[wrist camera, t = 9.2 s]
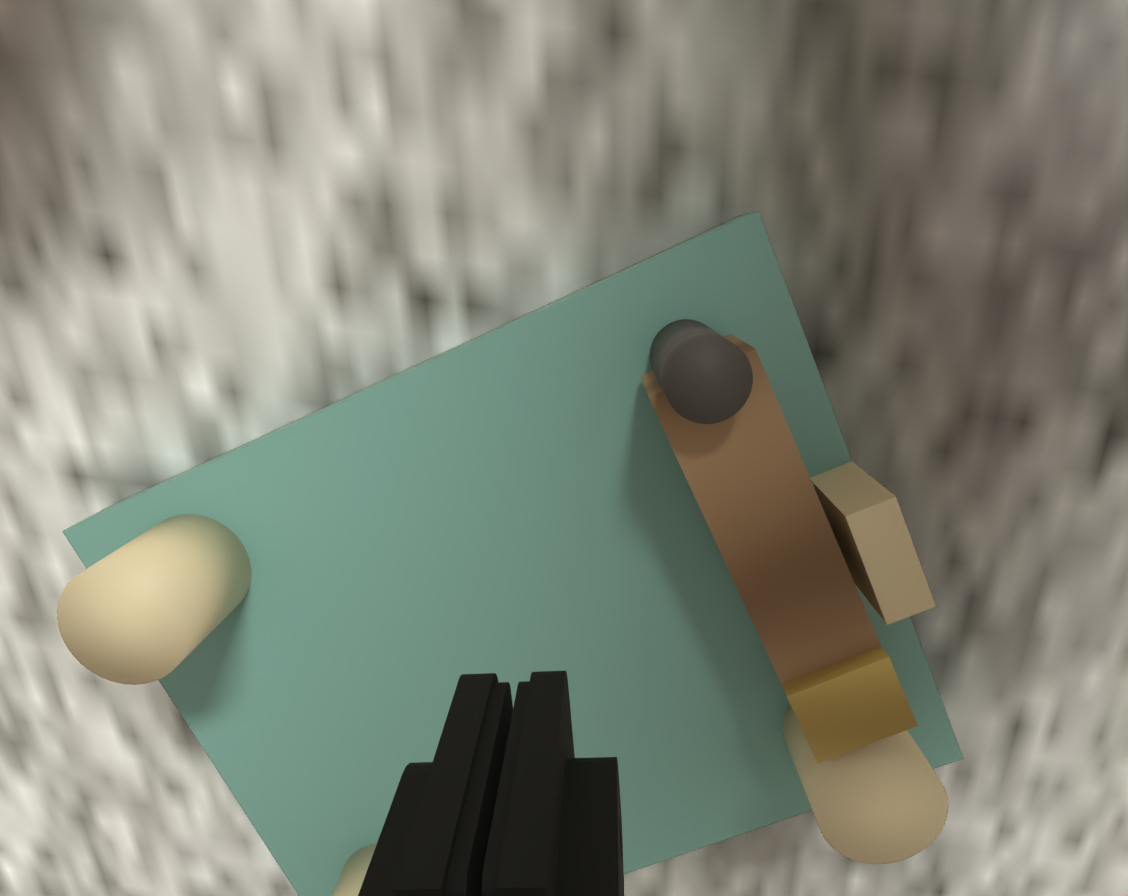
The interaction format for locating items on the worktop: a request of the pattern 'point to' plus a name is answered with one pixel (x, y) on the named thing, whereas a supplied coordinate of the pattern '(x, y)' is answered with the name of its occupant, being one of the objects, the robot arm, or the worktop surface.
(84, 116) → the worktop surface
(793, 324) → the stool seat
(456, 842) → the robot arm
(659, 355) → the folding leg
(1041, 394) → the worktop surface
